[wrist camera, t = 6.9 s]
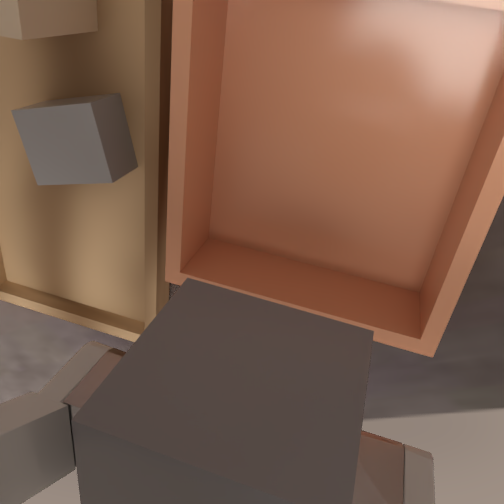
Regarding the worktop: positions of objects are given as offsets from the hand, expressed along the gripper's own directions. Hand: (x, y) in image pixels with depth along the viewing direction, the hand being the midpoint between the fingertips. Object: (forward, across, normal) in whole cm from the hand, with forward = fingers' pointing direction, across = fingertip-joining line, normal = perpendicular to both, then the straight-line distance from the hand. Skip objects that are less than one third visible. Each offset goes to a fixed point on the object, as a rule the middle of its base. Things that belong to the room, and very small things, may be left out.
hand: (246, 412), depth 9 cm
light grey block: (+10, +10, -1) cm, 15 cm away
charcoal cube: (+1, 0, 0) cm, 1 cm away
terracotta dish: (+11, 0, -3) cm, 11 cm away
